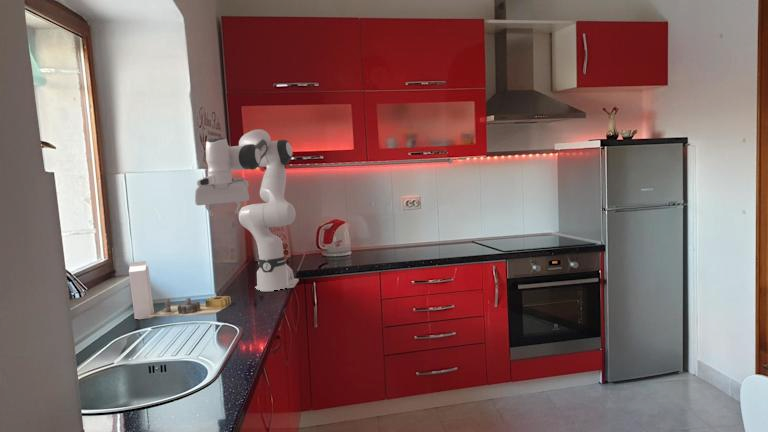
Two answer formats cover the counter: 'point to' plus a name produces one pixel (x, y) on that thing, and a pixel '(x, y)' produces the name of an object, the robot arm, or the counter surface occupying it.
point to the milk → (141, 290)
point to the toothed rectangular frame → (218, 301)
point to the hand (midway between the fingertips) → (224, 214)
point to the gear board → (202, 311)
